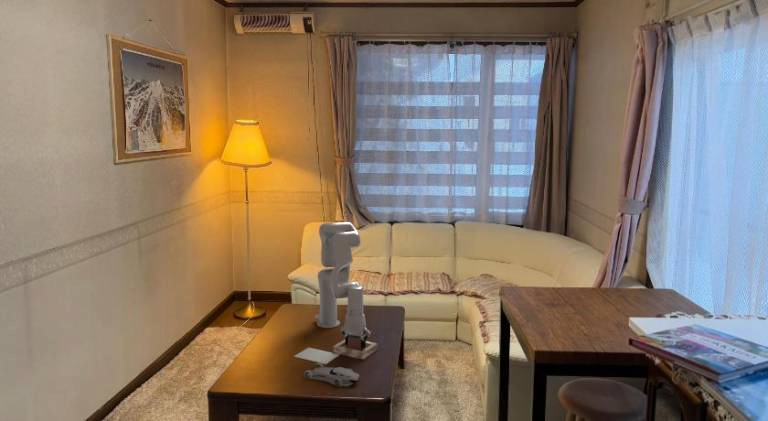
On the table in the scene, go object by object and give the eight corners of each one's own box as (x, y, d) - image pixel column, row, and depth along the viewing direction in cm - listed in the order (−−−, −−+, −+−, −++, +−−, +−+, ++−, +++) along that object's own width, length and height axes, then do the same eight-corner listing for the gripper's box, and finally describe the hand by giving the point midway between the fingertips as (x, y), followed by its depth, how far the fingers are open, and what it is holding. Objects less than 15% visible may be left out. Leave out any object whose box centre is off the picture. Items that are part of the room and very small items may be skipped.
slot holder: (332, 352, 258) (332, 346, 257) (347, 343, 270) (347, 337, 270) (363, 359, 250) (363, 353, 250) (377, 349, 262) (377, 343, 262)
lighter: (364, 350, 260) (364, 331, 259) (361, 353, 257) (361, 333, 256) (349, 348, 263) (349, 329, 262) (346, 351, 260) (346, 331, 258)
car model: (316, 368, 241) (316, 357, 240) (364, 379, 231) (364, 368, 230) (302, 378, 231) (302, 367, 231) (351, 390, 221) (351, 378, 220)
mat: (293, 356, 253) (293, 356, 252) (308, 348, 263) (308, 347, 263) (325, 364, 244) (325, 363, 244) (339, 355, 255) (339, 354, 255)
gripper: (336, 310, 258) (336, 345, 260) (367, 316, 250) (367, 352, 252) (344, 306, 265) (344, 340, 267) (375, 312, 257) (374, 346, 259)
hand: (355, 345), depth 260 cm, fingers closed on lighter, 8 cm apart
